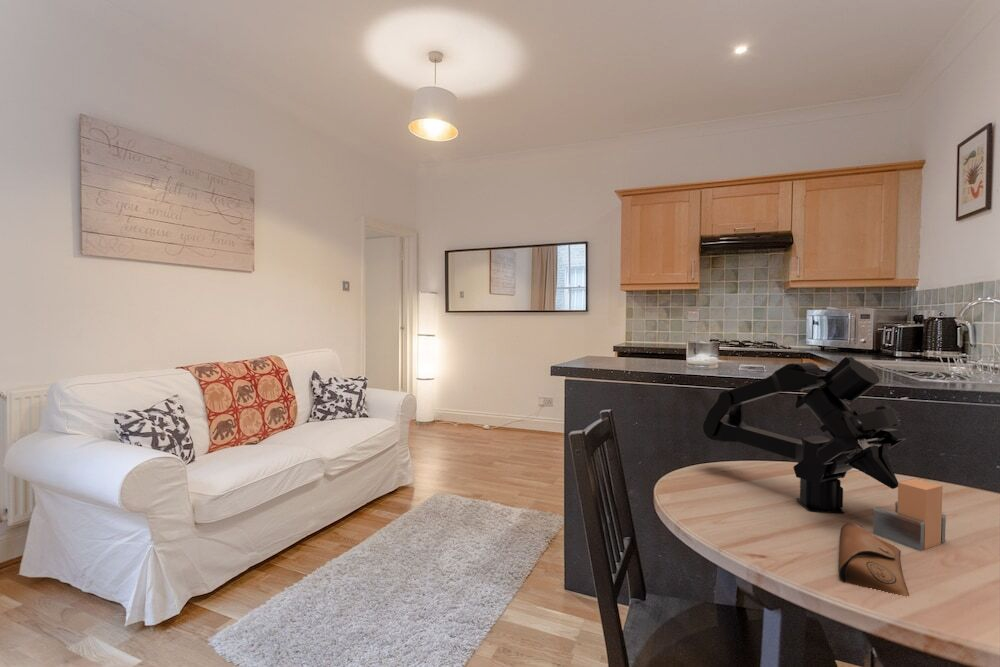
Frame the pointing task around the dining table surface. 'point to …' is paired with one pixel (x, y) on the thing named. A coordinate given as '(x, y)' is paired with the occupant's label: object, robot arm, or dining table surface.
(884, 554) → the sunglasses case
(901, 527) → the silver twin-wall channel
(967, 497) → the dining table surface
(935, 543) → the block
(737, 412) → the robot arm
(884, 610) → the dining table surface
